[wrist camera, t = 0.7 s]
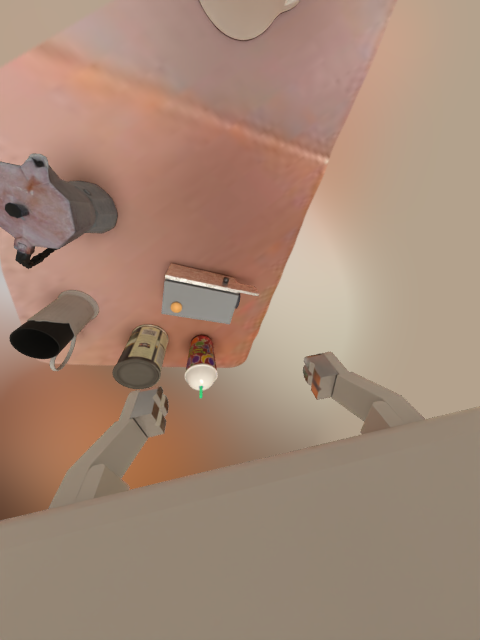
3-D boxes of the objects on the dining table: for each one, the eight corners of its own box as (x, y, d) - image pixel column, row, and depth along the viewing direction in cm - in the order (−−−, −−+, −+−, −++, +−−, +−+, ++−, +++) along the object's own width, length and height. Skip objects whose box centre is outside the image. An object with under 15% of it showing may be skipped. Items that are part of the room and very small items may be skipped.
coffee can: (139, 354, 59) (124, 392, 48) (125, 327, 54) (103, 364, 42) (173, 348, 60) (165, 384, 49) (162, 321, 54) (151, 355, 43)
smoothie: (202, 326, 57) (201, 380, 41) (220, 342, 62) (226, 395, 45) (182, 342, 59) (174, 398, 43) (201, 355, 64) (200, 412, 47)
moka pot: (129, 184, 37) (68, 176, 20) (112, 256, 43) (56, 294, 27) (69, 151, 33) (-62, 108, 17) (61, 235, 40) (-41, 264, 23)
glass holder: (95, 292, 47) (56, 327, 35) (104, 337, 54) (75, 380, 42) (52, 287, 45) (-5, 323, 33) (68, 335, 52) (26, 379, 40)
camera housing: (170, 267, 47) (163, 282, 39) (237, 281, 51) (244, 298, 43) (167, 296, 51) (160, 315, 42) (230, 307, 55) (234, 326, 47)
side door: (171, 259, 45) (165, 270, 39) (253, 278, 51) (261, 290, 44) (170, 266, 46) (165, 278, 39) (251, 284, 52) (258, 297, 45)
